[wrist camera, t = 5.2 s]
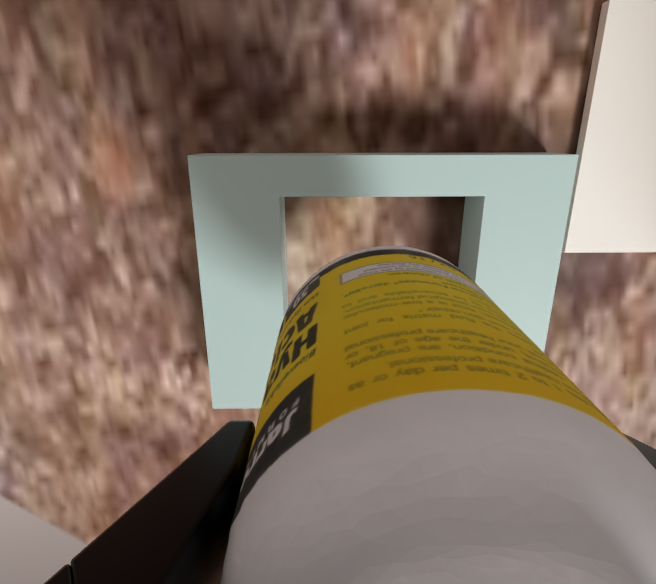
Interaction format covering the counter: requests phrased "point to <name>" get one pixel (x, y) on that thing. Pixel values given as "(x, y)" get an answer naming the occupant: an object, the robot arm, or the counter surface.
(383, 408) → the supplement bottle
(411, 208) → the counter surface
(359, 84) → the counter surface
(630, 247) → the white square tile
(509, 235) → the holder block
